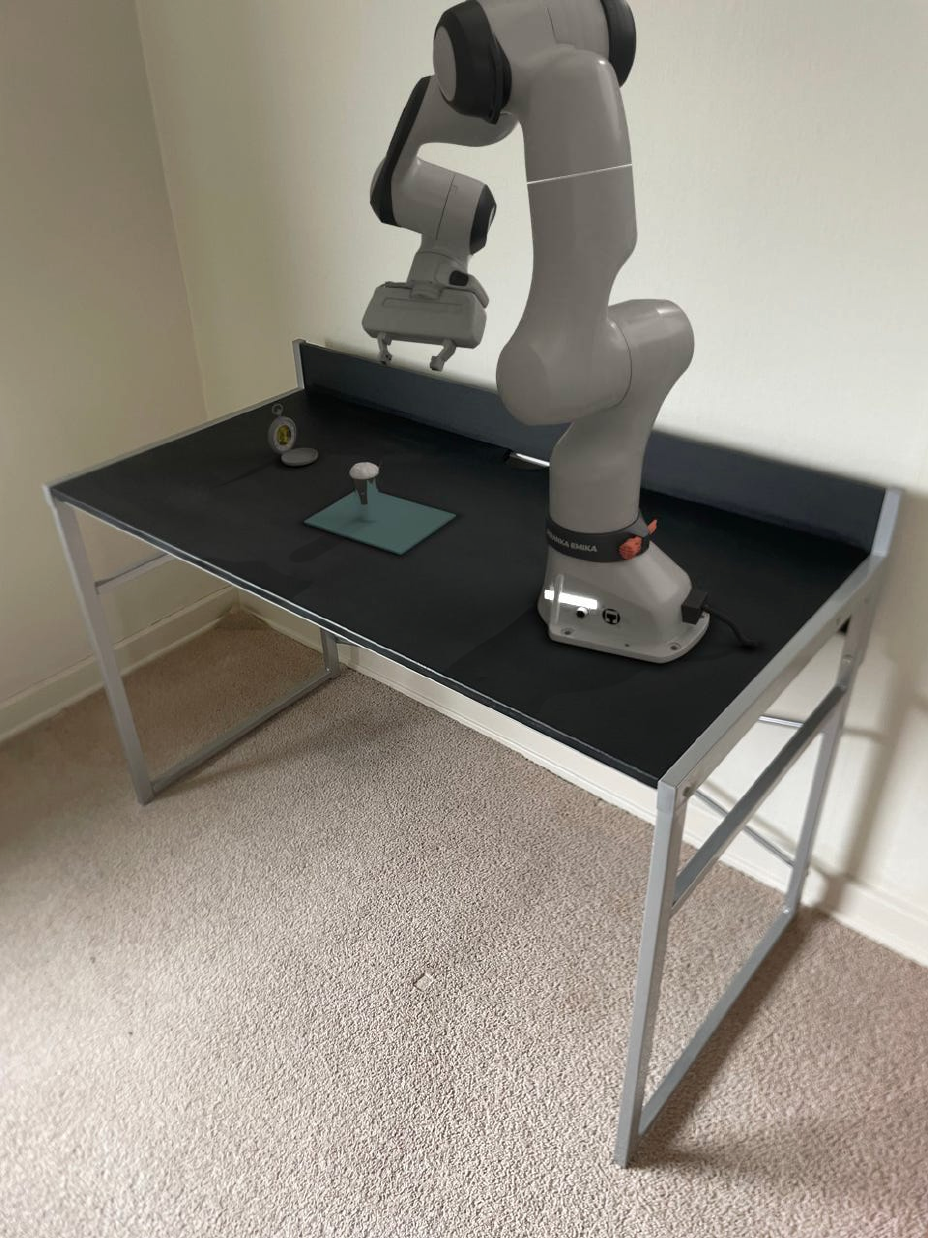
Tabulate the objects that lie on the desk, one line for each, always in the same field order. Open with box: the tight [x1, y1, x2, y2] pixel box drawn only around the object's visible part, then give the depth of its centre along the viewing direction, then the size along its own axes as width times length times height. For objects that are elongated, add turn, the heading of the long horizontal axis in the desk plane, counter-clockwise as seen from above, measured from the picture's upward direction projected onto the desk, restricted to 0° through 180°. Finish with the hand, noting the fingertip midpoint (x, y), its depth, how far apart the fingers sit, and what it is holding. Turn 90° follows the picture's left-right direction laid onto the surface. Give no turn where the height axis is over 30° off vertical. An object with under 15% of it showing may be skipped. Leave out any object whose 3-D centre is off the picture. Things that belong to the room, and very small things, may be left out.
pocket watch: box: [267, 403, 319, 467], centre depth 166 cm, size 8×8×10 cm
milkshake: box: [349, 460, 383, 522], centre depth 144 cm, size 4×5×10 cm
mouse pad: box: [303, 491, 457, 556], centre depth 147 cm, size 20×14×1 cm
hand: (408, 366), depth 143 cm, fingers open, 8 cm apart
